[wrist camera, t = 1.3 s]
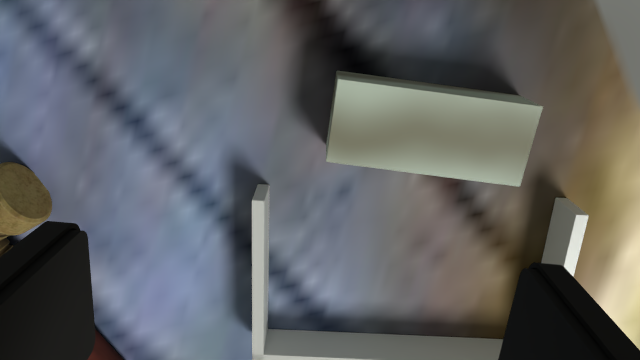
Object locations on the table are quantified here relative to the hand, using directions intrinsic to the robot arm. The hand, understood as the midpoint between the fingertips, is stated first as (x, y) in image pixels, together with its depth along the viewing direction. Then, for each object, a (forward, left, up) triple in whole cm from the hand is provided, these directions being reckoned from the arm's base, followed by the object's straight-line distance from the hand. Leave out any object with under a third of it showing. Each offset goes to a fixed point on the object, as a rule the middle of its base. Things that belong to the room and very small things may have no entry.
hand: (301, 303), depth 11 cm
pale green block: (+1, +7, -23) cm, 24 cm away
